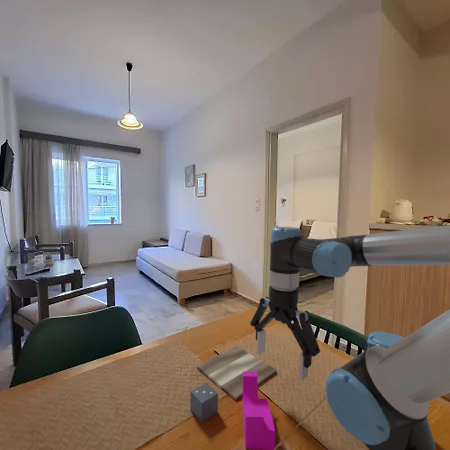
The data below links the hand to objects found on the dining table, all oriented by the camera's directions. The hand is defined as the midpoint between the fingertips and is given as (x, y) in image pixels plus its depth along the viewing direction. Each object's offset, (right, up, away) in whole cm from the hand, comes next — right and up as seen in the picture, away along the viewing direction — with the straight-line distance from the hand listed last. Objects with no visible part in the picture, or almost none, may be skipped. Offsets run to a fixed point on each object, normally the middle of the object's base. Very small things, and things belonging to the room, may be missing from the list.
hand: (280, 364), depth 67 cm
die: (-20, -10, -3) cm, 23 cm away
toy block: (-7, -11, -6) cm, 14 cm away
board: (-11, -9, +13) cm, 19 cm away
